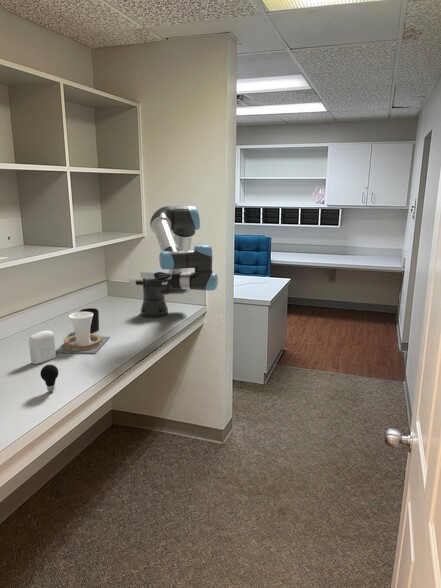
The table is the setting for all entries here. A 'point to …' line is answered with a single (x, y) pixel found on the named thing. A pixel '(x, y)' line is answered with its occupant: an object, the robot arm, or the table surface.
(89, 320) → the cup
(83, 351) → the collar mat
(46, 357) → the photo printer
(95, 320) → the pen holder
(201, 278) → the robot arm
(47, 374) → the light bulb
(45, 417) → the table surface
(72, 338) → the collar ring
